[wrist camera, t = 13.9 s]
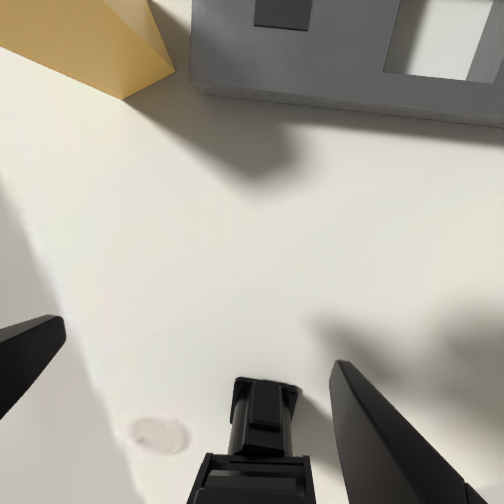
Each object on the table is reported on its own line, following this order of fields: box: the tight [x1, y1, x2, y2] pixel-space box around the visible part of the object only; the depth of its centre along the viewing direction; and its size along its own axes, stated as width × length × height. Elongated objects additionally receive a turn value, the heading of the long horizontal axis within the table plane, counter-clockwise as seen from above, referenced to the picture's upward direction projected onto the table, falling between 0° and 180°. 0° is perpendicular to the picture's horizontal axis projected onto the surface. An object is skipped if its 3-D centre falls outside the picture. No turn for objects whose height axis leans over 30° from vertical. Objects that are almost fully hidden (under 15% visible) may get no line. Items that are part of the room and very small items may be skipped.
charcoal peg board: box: [190, 0, 504, 128], centre depth 14 cm, size 9×22×3 cm, turn 83°
